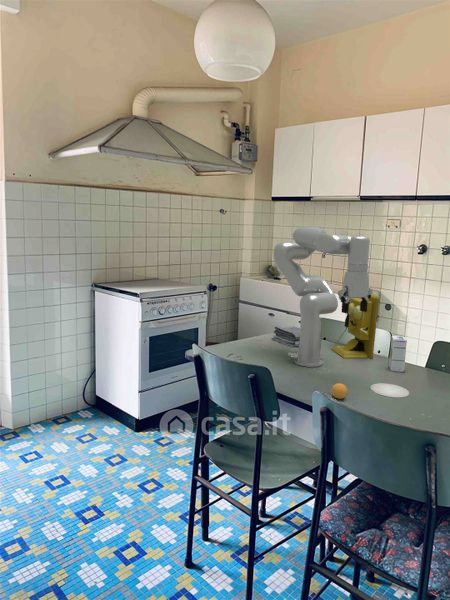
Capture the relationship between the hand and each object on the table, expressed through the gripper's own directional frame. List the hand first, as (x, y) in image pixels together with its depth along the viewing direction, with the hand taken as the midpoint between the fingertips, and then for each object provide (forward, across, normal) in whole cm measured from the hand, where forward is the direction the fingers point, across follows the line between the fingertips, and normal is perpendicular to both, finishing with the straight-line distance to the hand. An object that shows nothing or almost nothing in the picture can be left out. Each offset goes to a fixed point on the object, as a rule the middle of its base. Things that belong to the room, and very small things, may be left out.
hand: (354, 312), depth 178 cm
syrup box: (+28, -30, -3) cm, 42 cm away
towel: (+27, -14, -57) cm, 64 cm away
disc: (+29, -8, +14) cm, 33 cm away
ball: (+26, +16, +12) cm, 33 cm away
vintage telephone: (+28, -29, -30) cm, 50 cm away
